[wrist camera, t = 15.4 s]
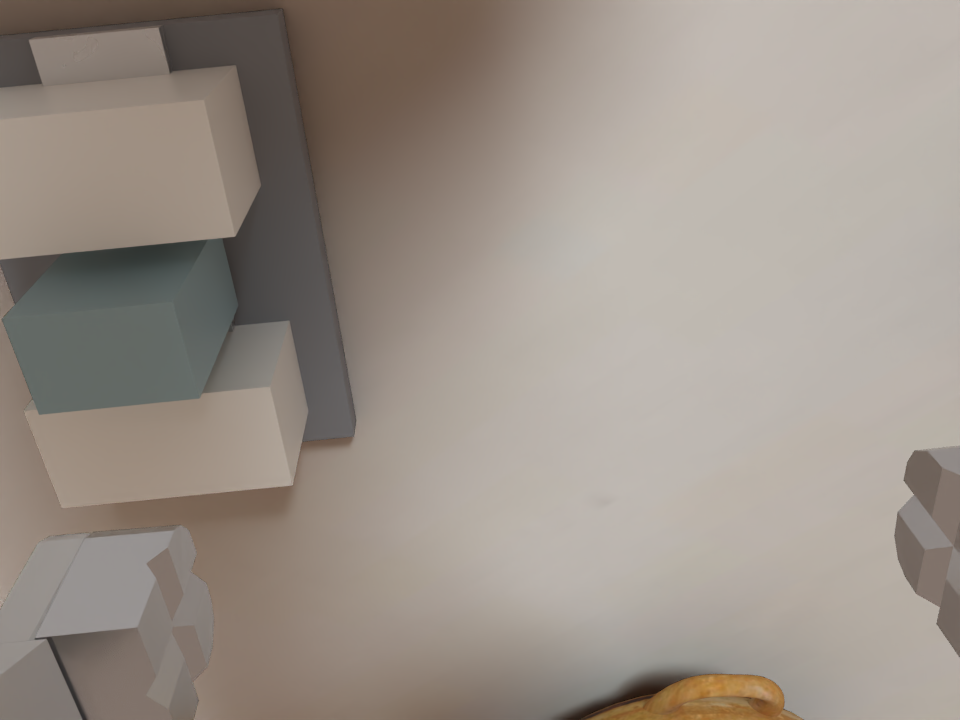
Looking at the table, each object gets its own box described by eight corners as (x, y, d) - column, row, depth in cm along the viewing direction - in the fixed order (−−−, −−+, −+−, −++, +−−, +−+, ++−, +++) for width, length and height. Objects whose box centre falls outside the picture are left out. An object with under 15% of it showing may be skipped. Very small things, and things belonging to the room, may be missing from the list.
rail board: (-63, 41, 36) (-171, 81, 30) (282, 8, 36) (251, 40, 30) (85, 447, 46) (29, 544, 39) (356, 420, 46) (345, 512, 40)
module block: (78, 235, 38) (1, 319, 31) (218, 221, 38) (172, 301, 31) (105, 318, 40) (38, 415, 33) (238, 305, 40) (199, 398, 33)
